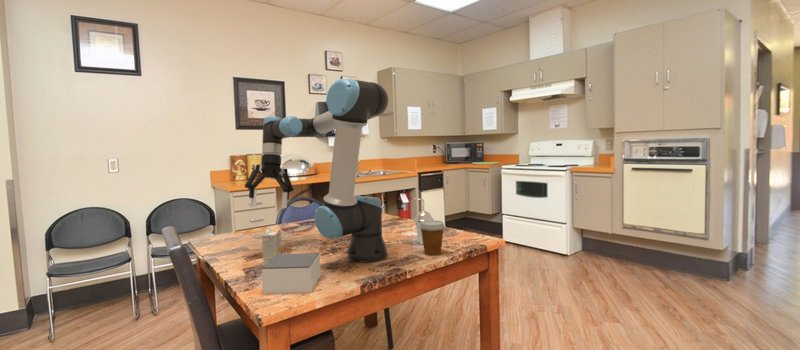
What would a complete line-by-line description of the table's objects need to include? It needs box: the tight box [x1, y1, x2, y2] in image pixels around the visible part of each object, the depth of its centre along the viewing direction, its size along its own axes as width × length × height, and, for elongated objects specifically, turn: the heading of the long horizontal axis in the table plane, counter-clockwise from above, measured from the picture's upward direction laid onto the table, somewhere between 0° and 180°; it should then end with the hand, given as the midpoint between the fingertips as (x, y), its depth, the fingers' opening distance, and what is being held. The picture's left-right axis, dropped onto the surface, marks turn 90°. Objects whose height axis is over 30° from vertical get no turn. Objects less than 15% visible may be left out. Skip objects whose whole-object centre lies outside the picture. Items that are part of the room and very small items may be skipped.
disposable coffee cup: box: [420, 219, 445, 256], centre depth 149 cm, size 10×10×12 cm
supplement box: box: [261, 228, 283, 267], centre depth 136 cm, size 8×5×13 cm, turn 5°
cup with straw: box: [411, 197, 434, 245], centre depth 164 cm, size 8×9×20 cm
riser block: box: [261, 252, 321, 295], centre depth 120 cm, size 14×14×8 cm
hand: (269, 207), depth 153 cm, fingers open, 13 cm apart
